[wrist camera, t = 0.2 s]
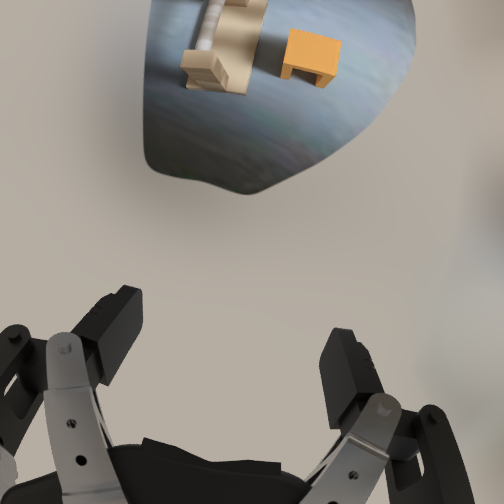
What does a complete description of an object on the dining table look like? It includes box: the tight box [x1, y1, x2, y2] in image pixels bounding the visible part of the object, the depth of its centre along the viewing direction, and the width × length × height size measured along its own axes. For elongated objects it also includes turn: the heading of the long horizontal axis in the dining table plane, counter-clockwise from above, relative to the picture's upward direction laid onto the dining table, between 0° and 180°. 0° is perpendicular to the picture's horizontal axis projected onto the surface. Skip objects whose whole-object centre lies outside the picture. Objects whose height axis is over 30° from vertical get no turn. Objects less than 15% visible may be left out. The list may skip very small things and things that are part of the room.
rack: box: [180, 0, 267, 96], centre depth 23 cm, size 16×8×12 cm, turn 169°
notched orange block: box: [280, 29, 342, 88], centre depth 27 cm, size 5×6×7 cm
